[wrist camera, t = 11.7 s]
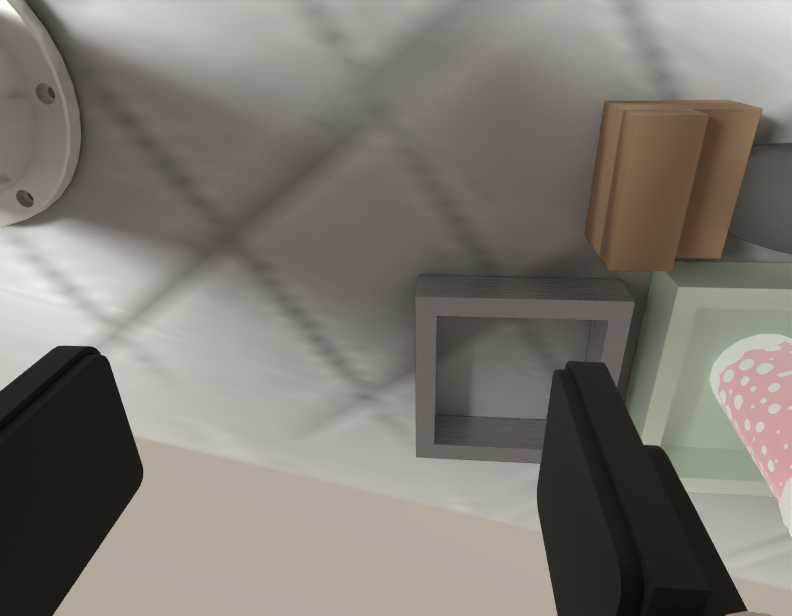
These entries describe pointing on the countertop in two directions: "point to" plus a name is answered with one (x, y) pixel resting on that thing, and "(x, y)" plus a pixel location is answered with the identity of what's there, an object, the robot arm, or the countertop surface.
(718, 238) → the block
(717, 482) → the tray
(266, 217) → the countertop surface
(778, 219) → the caster wheel
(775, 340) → the beverage cup
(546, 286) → the socket ring
